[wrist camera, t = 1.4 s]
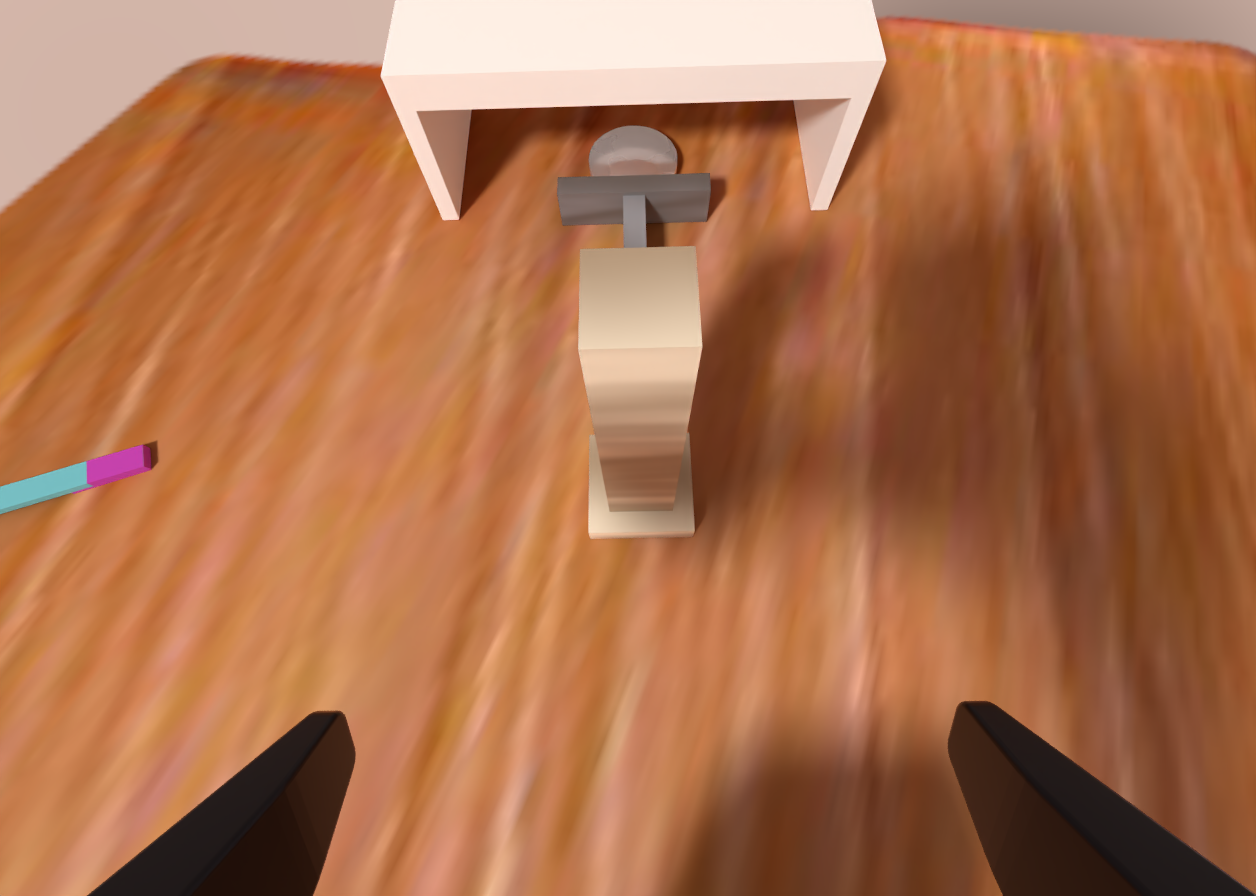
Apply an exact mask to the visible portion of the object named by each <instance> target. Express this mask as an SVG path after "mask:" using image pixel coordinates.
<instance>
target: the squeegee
mask: <svg viewBox="0 0 1256 896" xmlns="http://www.w3.org/2000/svg"><path fill="white" fill-rule="evenodd" d="M149 470H151V454H150V448H149V447H147V446H145V445H140V446H136V447H133V448H130V449H126V450H123V451H120V452H116V453H113V454H109V455H106V456H103V457H99V458H96V459H93V460H89V461H86V462H82V463H79V464H76V465H72V466H69V467H65V468H62V469H59V470H55V471H52V472H49V473H45V474H42V475H38V476H35V477H32V478H28V479H25V480H22V481H18V482H15V483H12V484H8V485H5V486H1V487H0V514H2V513H6V512H9V511H12V510H16V509H19V508H22V507H26V506H29V505H32V504H36V503H39V502H42V501H46V500H49V499H52V498H55V497H59V496H62V495H65V494H69V493H74V494H75V493H78V492H81V491H85V490H88V489H91V488H94V487H97V486H101V485H104V484H107V483H110V482H113V481H117V480H120V479H123V478H126V477H129V476H133V475H136V474H139V473H142V472H146V471H149Z"/></svg>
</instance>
